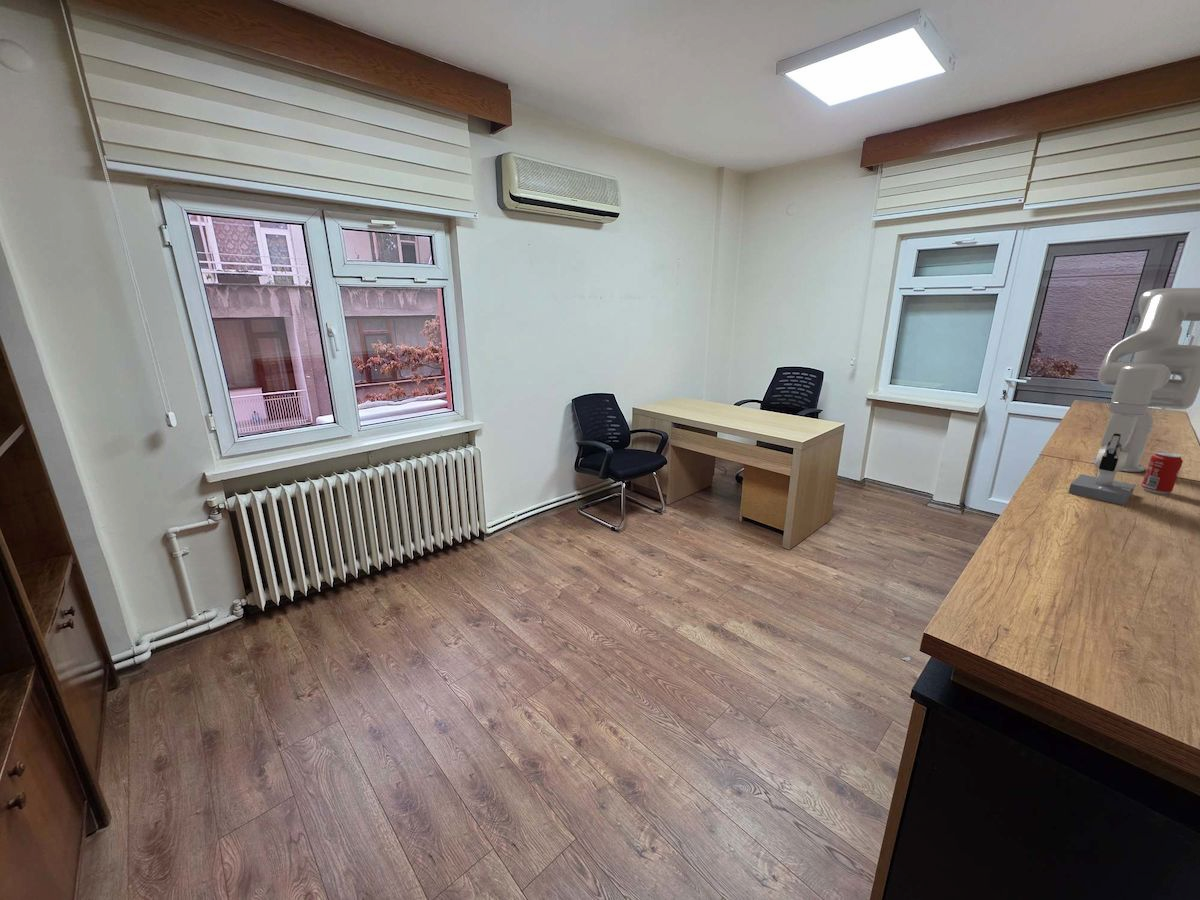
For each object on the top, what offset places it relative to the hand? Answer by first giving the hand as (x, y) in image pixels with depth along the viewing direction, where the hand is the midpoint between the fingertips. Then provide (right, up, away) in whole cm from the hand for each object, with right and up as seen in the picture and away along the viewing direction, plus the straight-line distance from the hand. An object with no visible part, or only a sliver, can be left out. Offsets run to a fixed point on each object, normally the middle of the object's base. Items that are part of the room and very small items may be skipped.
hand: (1108, 467), depth 144 cm
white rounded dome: (0, 0, 0) cm, 0 cm away
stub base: (0, -8, +2) cm, 8 cm away
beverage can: (+19, -8, +4) cm, 21 cm away
